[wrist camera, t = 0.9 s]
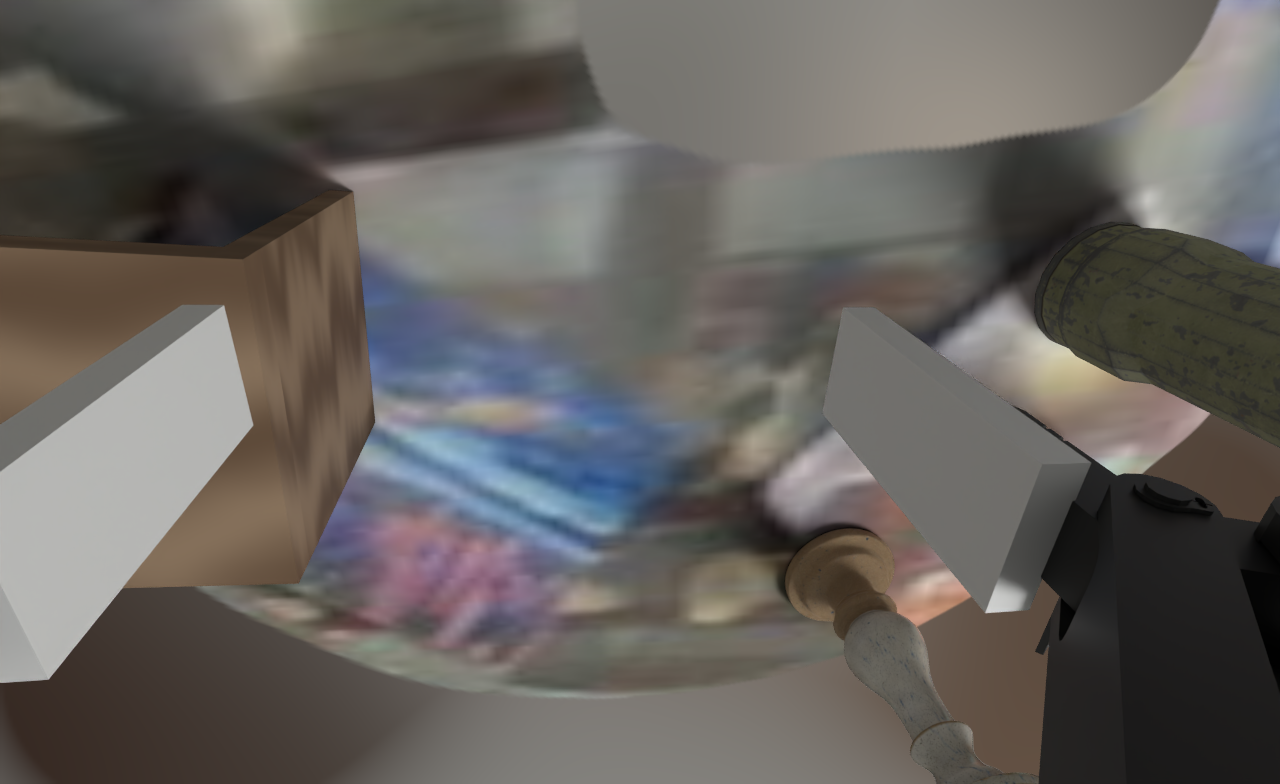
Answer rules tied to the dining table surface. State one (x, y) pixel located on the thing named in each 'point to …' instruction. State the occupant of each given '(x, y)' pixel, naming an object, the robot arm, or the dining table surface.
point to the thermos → (1171, 318)
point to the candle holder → (885, 648)
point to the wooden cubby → (268, 360)
